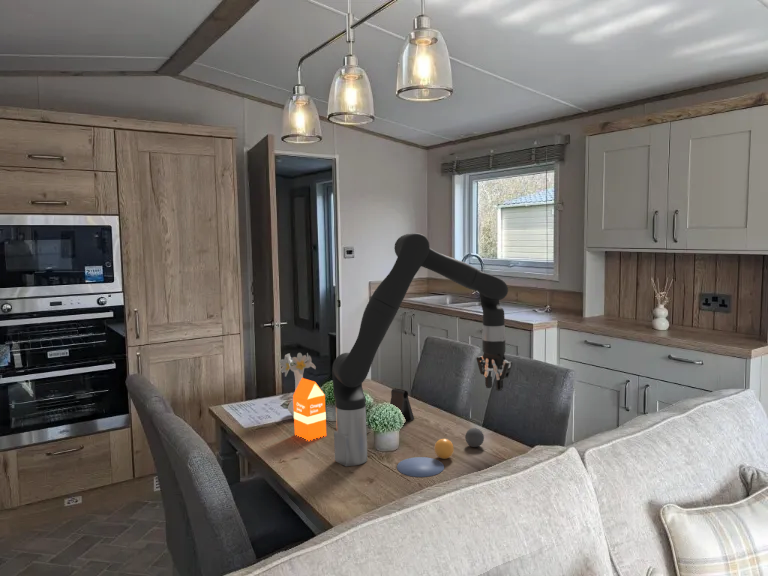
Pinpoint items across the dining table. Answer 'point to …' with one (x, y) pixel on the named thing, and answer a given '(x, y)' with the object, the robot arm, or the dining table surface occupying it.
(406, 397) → the door stopper
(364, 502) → the dining table surface
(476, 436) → the gray ball
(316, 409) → the orange juice
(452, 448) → the orange ball
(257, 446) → the dining table surface
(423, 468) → the blue plate
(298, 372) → the flower vase
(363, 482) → the dining table surface
